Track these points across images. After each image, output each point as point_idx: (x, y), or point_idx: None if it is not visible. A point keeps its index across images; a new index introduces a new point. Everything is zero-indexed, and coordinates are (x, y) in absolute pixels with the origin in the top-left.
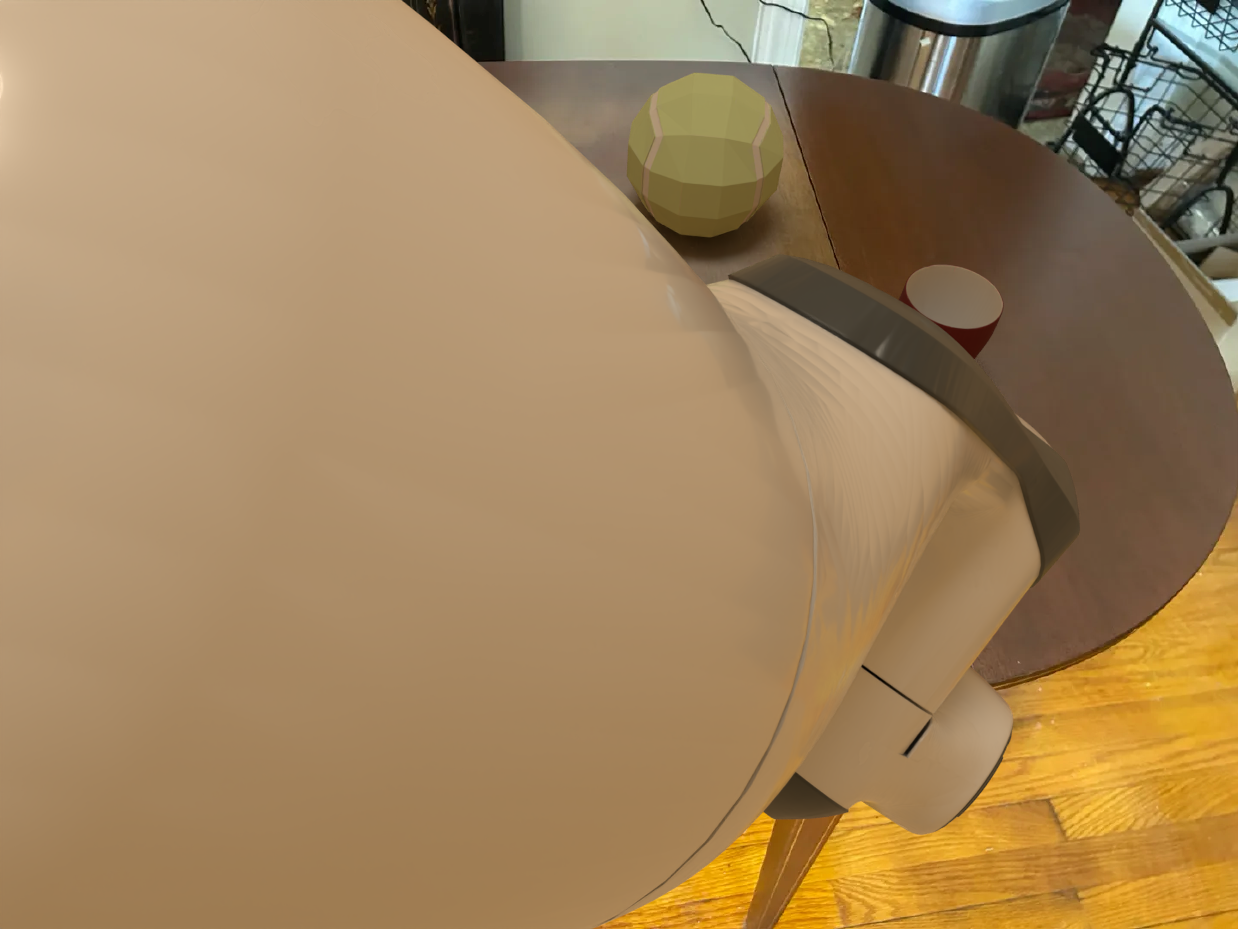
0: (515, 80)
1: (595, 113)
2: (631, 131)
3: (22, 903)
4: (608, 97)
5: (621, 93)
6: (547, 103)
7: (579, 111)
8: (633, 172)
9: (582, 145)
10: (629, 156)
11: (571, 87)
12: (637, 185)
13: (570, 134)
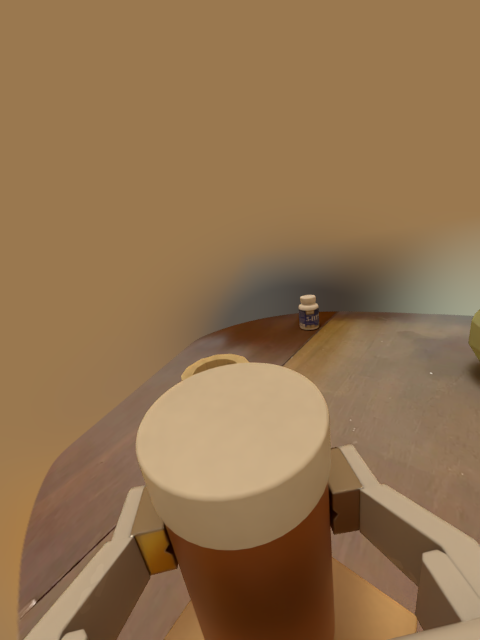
0: (401, 315)
1: (446, 328)
2: (474, 316)
3: None
4: (456, 323)
5: (465, 323)
6: (417, 323)
7: (436, 326)
8: (475, 339)
9: (436, 338)
10: (472, 329)
11: (433, 319)
12: (478, 347)
13: (429, 334)
